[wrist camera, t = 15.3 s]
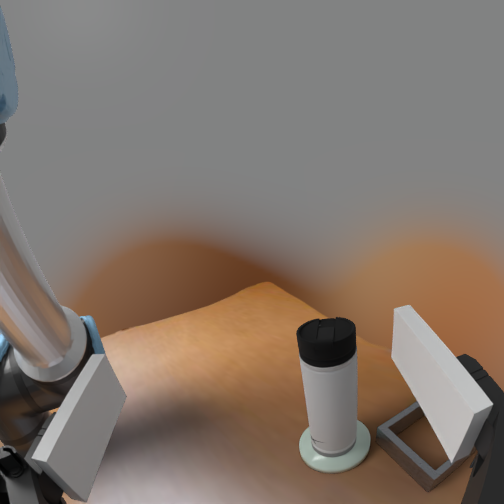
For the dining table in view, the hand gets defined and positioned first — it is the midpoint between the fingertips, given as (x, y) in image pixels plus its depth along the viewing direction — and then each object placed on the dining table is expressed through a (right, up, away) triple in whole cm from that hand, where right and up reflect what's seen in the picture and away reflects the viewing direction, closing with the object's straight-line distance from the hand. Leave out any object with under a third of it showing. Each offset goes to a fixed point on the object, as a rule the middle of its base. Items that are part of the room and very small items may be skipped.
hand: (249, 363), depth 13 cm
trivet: (+12, -22, +24) cm, 35 cm away
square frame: (+25, -21, +19) cm, 38 cm away
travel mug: (+11, -22, +24) cm, 34 cm away
